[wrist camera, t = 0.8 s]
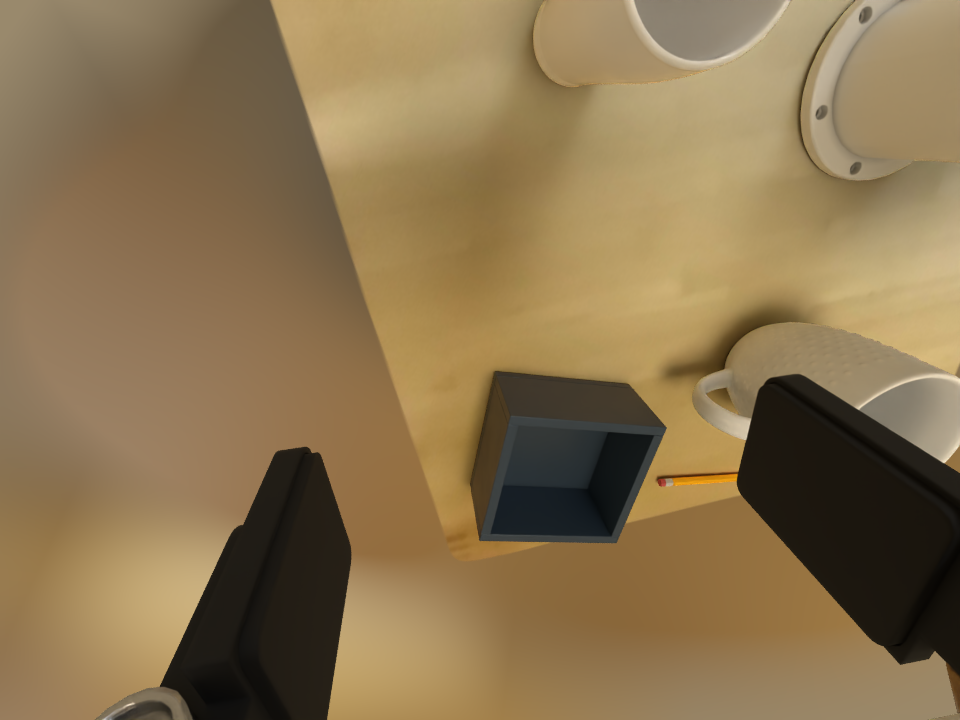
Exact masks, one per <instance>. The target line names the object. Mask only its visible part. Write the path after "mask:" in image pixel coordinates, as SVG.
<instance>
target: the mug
mask: <svg viewBox="0 0 960 720" xmlns="http://www.w3.org/2000/svg"><path fill="white" fill-rule="evenodd" d="M791 374H801V375H803V376H805V377H807V378H809V379H810V380H812V381H813V382H815V383H817V384H818V385H820V386H821V387H823V388H825V389H826V390H828V391H829V392H831V393H833V394H834V395H836V396H837V397H839V398H841V399H842V400H844V401H845V402H847V403H848V404H850V405H852V406H853V407H855V408H856V409H858V410H860V411H861V412H863V413H864V414H866V415H868V416H869V417H871V418H872V419H874V420H876V421H877V422H879V423H880V424H882V425H884V426H885V427H887V428H888V429H890V430H892V431H893V432H895V433H896V434H898V435H900V436H901V437H903V438H904V439H906V440H908V441H909V442H911V443H912V444H914V445H916V446H917V447H919V448H920V449H922V450H924V451H925V452H927V453H928V454H930V455H931V456H933V457H935V458H936V459H938V460H939V461H941V462H943V463H945V462H946V461H947V460H948V459H949V458H950V456H951V455H952V454H953V453H954V452H955V451H956V449H957V448H958V447H959V445H960V378H958V377H957V376H955V375H953V374H950V373H948V372H946V371H944V370H941V369H939V368H937V367H935V366H932V365H930V364H928V363H926V362H923V361H921V360H919V359H918V358H916V357H914V356H911V355H908V354H906V353H903V352H900V351H899V350H897V349H894V348H893V347H891V346H886V345H883V344H882V343H880V342H878V341H874V340H873V339H868V338H865V337H863V336H861V335H859V334H856V333H850V332H847V331H845V330H842V329H835V328H831V327H829V326H822V325H816V324H813V323H811V324H810V323H802V322H795V323H793V322H787V323H776V324H770V325H766V326H762V327H759V328H757V329H755V330H753V331H751V332H749V333H747V334H746V335H745V336H743V337H742V338H741V339H740V340H739V341H738V342H737V343H736V344H735V345H734V347H733V348H732V349H731V351H730V353H729V355H728V357H727V359H726V363H725V369H724V370H721V371H718V372H714V373H711V374H709V375H707V376H705V377H703V378H702V379H701V380H699V381H698V383H697V384H696V386H695V388H694V390H693V395H692V401H693V404H694V407H695V409H696V410H697V412H698V413H699V414H700V415H701V416H702V418H703V419H705V420H706V421H707V422H709V423H710V424H711V425H713V426H714V427H716V428H718V429H719V430H721V431H723V432H725V433H727V434H729V435H732V436H734V437H737V438H740V439H743V440H746V439H747V435H748V430H749V426H750V422H751V418H752V414H753V410H754V406H755V401H756V397H757V393H758V390H759V388H760V387H761V386H763V385H764V383H765V381H766V380H767V379H769V378H771V377H777V376H784V375H791ZM726 387H727V391H728V393H729V397H730V399H731V401H732V402H733V405H734V407H735V409H736V410H737V411H738V414H739V415H738V414H735V413H733V412H731V411H729V410H727V409H725V408H723V407H721V406H720V405H718V404H716V403H715V402H713V401H712V400H711V399H710V398H709V397H708V396H707V395H706V394H707V393H708V392H710V391H712V390H715V389H720V388H726Z"/></svg>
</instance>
